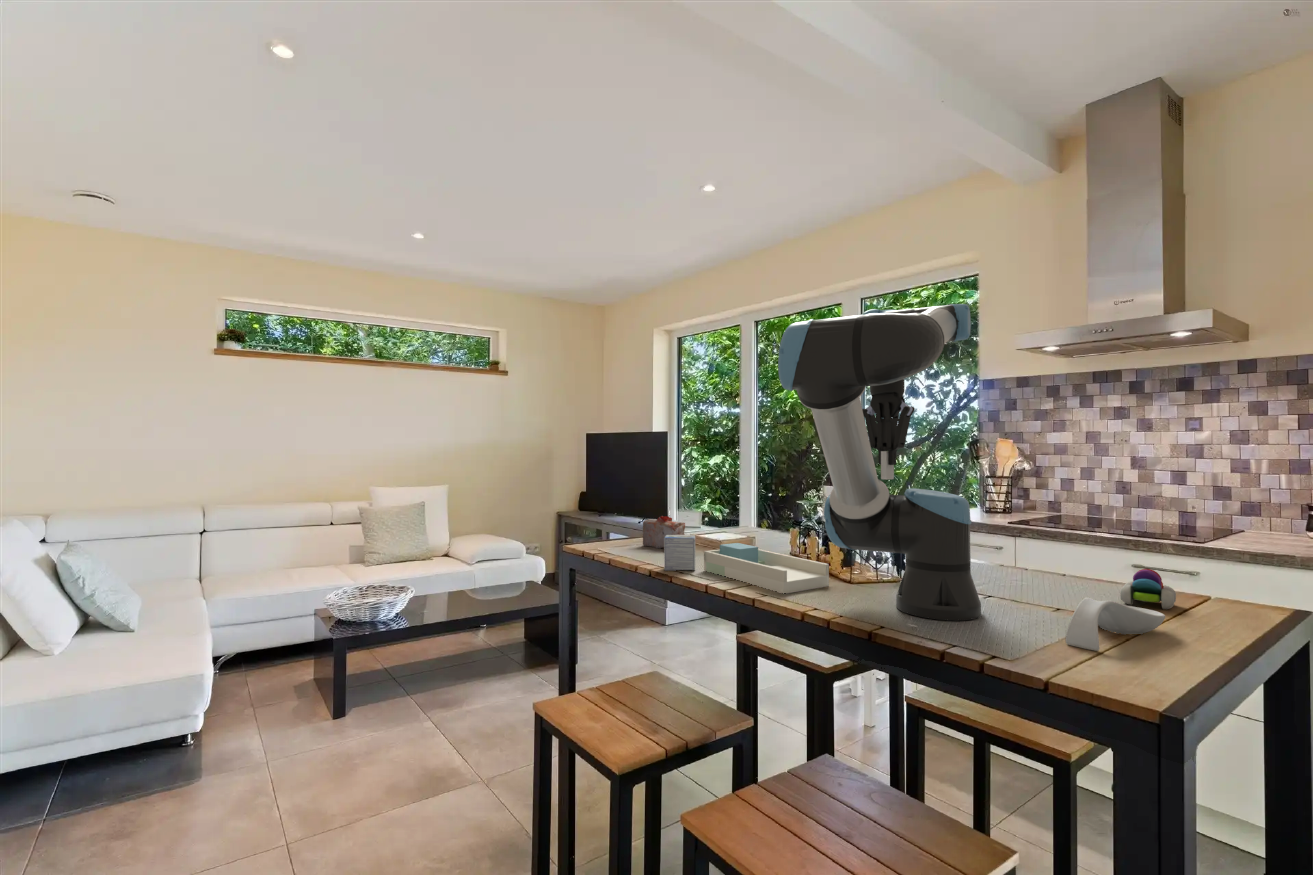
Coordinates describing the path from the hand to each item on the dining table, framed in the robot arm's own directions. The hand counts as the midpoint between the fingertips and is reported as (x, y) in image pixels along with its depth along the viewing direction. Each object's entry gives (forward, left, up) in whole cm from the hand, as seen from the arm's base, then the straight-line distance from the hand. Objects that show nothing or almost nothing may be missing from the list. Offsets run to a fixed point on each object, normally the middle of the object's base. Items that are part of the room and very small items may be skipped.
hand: (887, 479), depth 146 cm
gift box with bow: (+71, +16, -25) cm, 77 cm away
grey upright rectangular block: (+40, +31, -25) cm, 56 cm away
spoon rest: (-46, +1, -25) cm, 52 cm away
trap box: (+20, +20, -24) cm, 38 cm away
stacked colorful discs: (-40, -29, -25) cm, 55 cm away
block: (+29, +20, -22) cm, 42 cm away
